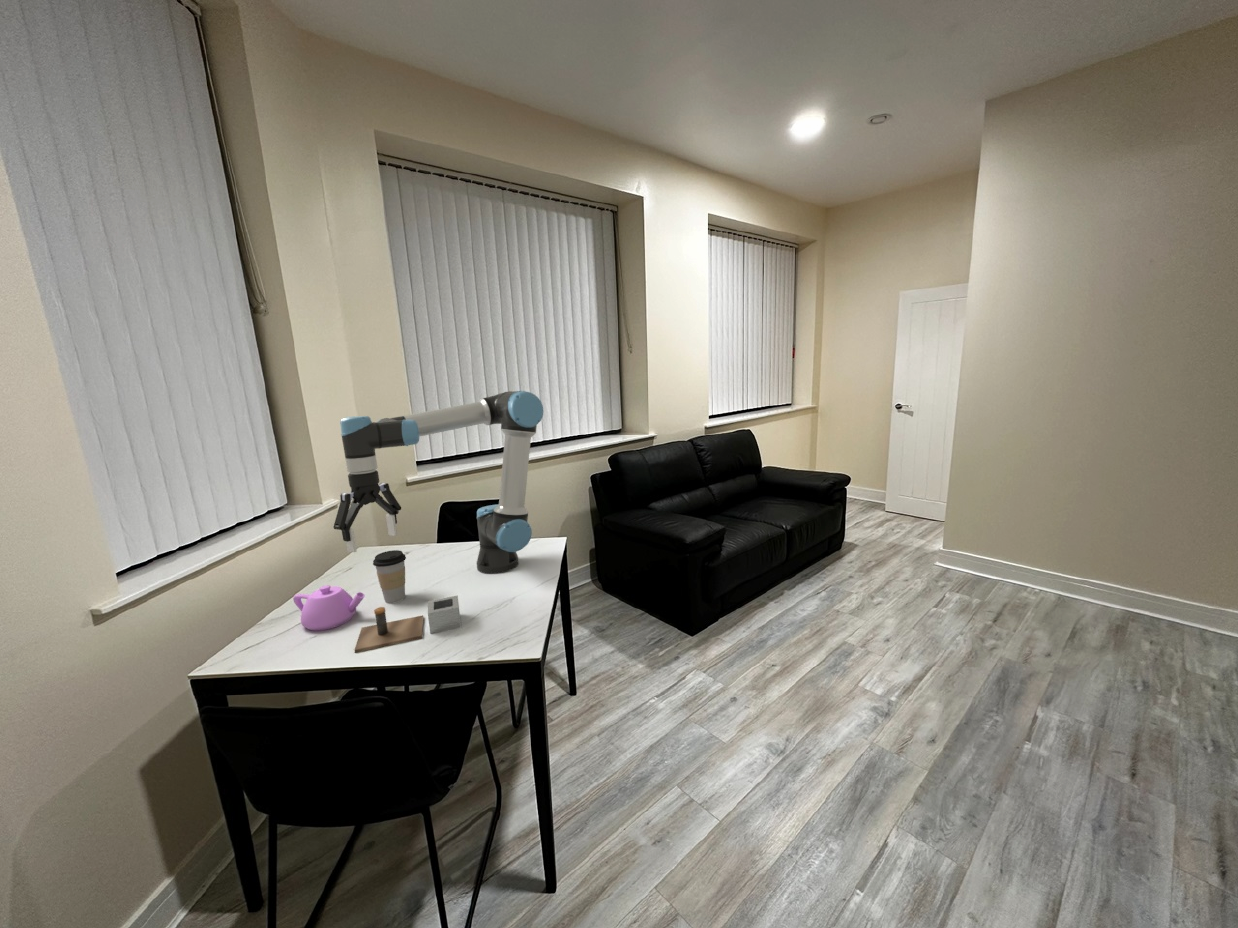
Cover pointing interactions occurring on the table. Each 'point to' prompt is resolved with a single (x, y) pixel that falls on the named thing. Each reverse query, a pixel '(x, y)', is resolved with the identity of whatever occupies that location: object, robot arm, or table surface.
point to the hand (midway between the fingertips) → (373, 543)
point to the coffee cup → (391, 575)
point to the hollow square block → (443, 614)
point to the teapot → (327, 607)
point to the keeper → (389, 631)
